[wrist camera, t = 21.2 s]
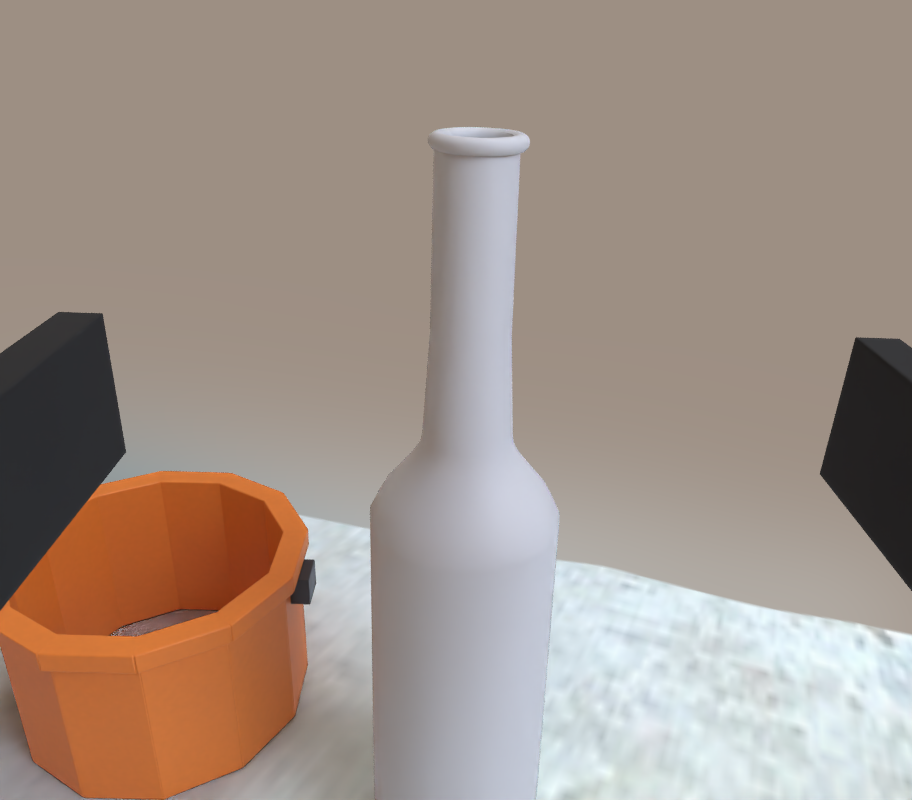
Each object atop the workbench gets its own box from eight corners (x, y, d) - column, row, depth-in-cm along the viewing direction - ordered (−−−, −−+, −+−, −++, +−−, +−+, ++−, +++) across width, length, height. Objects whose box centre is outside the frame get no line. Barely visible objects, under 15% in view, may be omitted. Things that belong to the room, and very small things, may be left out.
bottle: (565, 851, 33) (654, 140, 21) (429, 944, 29) (442, 156, 17) (472, 742, 38) (501, 115, 26) (347, 810, 34) (312, 124, 22)
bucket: (-55, 803, 34) (-110, 650, 30) (86, 593, 46) (59, 467, 43) (292, 813, 34) (278, 660, 30) (339, 600, 47) (333, 475, 43)
